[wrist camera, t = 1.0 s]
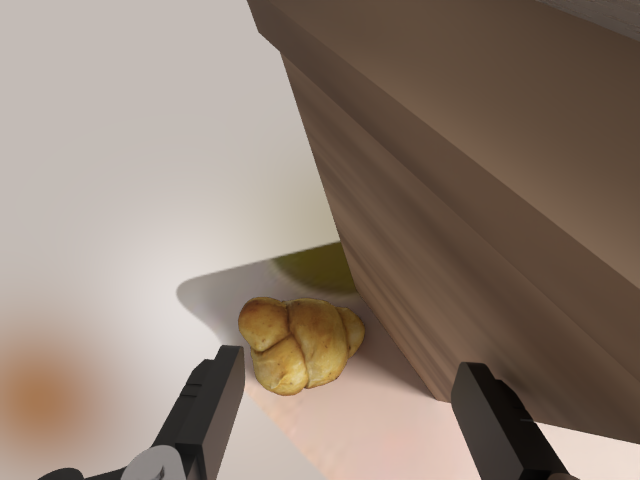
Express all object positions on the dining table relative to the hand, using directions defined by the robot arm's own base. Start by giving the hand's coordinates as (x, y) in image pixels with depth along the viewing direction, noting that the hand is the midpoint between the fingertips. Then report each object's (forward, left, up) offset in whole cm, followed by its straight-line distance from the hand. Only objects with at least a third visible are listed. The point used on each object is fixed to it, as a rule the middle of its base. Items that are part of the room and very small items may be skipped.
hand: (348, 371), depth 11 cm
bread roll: (+4, -7, -24) cm, 25 cm away
